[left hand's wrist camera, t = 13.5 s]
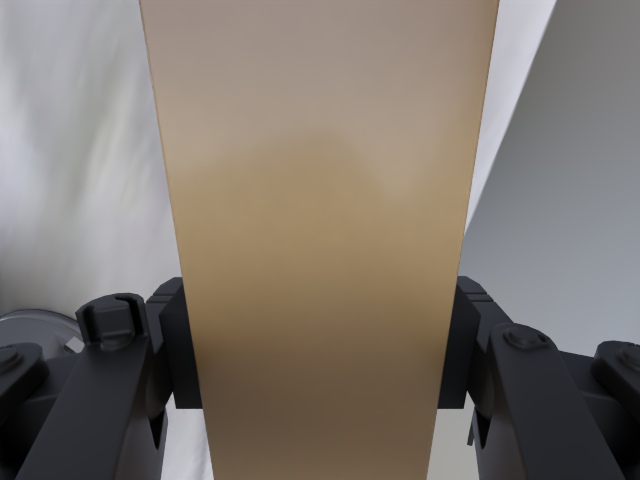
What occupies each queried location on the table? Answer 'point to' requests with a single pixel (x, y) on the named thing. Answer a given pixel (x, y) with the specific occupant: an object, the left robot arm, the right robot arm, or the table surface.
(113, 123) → the table surface
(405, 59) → the bar
